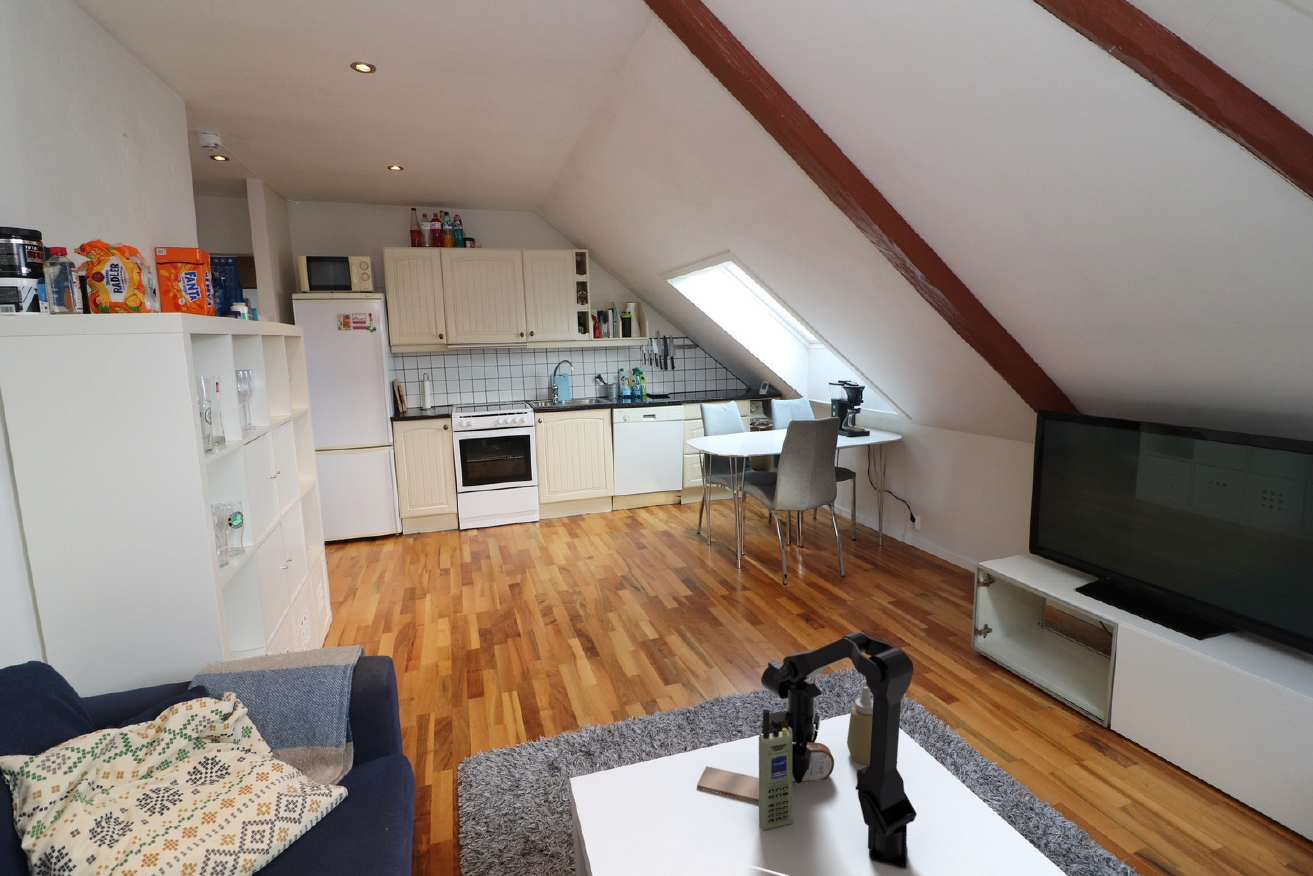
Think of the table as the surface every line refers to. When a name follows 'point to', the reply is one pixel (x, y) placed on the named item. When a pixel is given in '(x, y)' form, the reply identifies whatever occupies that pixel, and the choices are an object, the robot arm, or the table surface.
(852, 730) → the squeeze bottle
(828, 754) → the tin
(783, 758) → the handheld radio
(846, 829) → the table surface
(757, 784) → the walnut board
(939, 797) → the table surface
